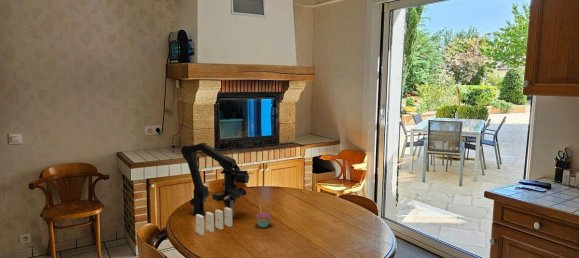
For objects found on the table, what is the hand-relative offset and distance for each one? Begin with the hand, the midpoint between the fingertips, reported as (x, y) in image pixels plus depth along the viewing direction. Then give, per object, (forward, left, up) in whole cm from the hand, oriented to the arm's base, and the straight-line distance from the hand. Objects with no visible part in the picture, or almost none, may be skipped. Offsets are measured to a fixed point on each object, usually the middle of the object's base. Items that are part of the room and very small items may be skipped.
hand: (229, 209), depth 217 cm
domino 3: (+10, -13, -4) cm, 17 cm away
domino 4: (+10, -8, -4) cm, 13 cm away
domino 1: (+10, -24, -4) cm, 26 cm away
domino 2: (+10, -19, -4) cm, 22 cm away
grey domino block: (0, 0, -3) cm, 3 cm away
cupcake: (+22, +6, -4) cm, 23 cm away
